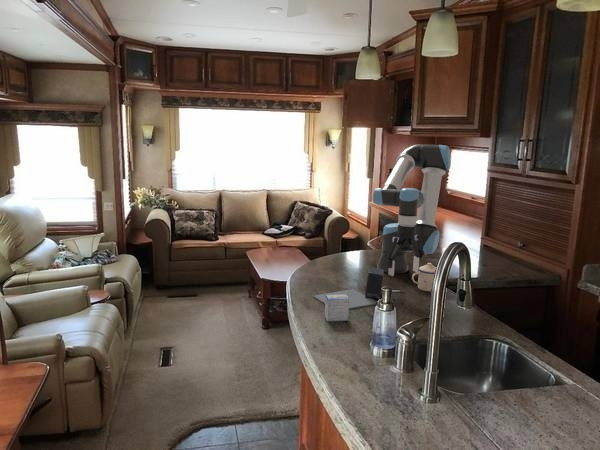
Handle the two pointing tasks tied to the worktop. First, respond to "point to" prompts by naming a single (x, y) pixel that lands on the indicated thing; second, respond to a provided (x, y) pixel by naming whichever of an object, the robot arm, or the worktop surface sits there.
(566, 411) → the worktop surface
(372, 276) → the small box
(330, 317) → the medicine box
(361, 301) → the slate mat
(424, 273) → the teacup with lid
